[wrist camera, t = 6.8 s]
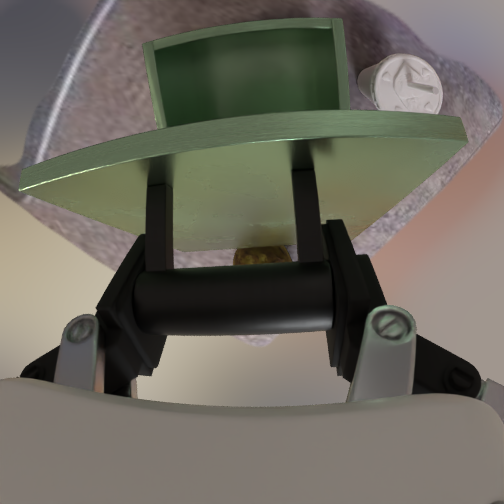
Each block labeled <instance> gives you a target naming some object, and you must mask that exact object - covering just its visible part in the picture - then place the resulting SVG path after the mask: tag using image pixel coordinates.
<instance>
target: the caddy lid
mask: <svg viewBox="0 0 504 504" xmlns="http://www.w3.org/2000/svg"><path fill="white" fill-rule="evenodd" d="M467 143H468V138H467V135H466V132H465V129H464V126H463V123H462V120H461V118H460V117H454V116H446V115H437V114H428V113H416V112H402V111H383V110H312V111H292V112H278V113H266V114H255V115H246V116H237V117H229V118H222V119H215V120H208V121H201V122H195V123H189V124H184V125H178V126H173V127H168V128H163V129H158V130H153V131H148V132H144V133H139V134H135V135H131V136H127V137H123V138H119V139H115V140H111V141H107V142H104V143H100V144H96V145H93V146H89V147H86V148H83V149H79V150H76V151H73V152H70V153H67V154H64V155H61V156H58V157H55V158H52V159H49V160H46V161H43V162H41V163H38V164H35V165H32V166H30V167H27V168H25V169H22V172H21V178H20V184H19V191H20V192H23V193H25V194H28V195H30V196H33V197H35V198H38V199H41V200H43V201H46V202H48V203H51V204H54V205H56V206H59V207H61V208H64V209H67V210H69V211H72V212H75V213H77V214H80V215H83V216H85V217H88V218H91V219H93V220H96V221H99V222H102V223H104V224H107V225H110V226H112V227H115V228H118V229H121V230H123V231H126V232H129V233H132V234H134V235H137V236H139V235H140V234H145V271H143V272H142V273H140V274H139V276H138V277H137V279H136V281H135V285H134V289H133V297H132V304H133V313H134V317H135V320H136V323H137V325H138V327H139V328H140V330H141V331H142V332H144V333H145V334H148V335H181V336H185V335H186V336H218V335H219V336H221V335H222V336H223V335H261V334H283V333H300V332H314V331H327V330H331V329H332V328H333V326H334V322H335V287H334V278H333V272H332V268H331V265H330V263H329V261H328V260H326V259H325V260H324V252H323V240H322V229H321V224H326V220H332V219H342V220H343V222H344V224H345V227H346V229H347V232H348V235H349V237H350V240H353V239H354V238H355V237H356V236H358V235H359V234H360V233H362V232H363V231H364V230H365V229H367V228H368V227H369V226H370V225H372V224H373V223H374V222H375V221H377V220H378V219H379V218H380V217H382V216H383V215H384V214H385V213H386V212H388V211H389V210H390V209H391V208H393V207H394V206H395V205H396V204H397V203H399V202H400V201H401V200H402V199H404V198H405V197H406V196H407V195H408V194H410V193H411V192H412V191H413V190H414V189H415V188H417V187H418V186H419V185H420V184H421V183H423V182H424V181H425V180H426V179H427V178H428V177H430V176H431V175H432V174H433V173H434V172H435V171H437V170H438V169H439V168H440V167H441V166H442V165H443V164H445V163H446V162H447V161H448V160H449V159H450V158H451V157H452V156H454V155H455V154H456V153H457V152H458V151H459V150H460V149H461V148H463V147H464V146H465V145H466V144H467ZM296 244H297V254H298V261H295V262H280V263H264V264H248V265H232V266H215V267H198V268H180V269H174V257H173V248H174V249H177V250H179V251H182V252H194V251H208V250H223V249H237V248H252V247H266V246H281V245H296Z"/></svg>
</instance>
